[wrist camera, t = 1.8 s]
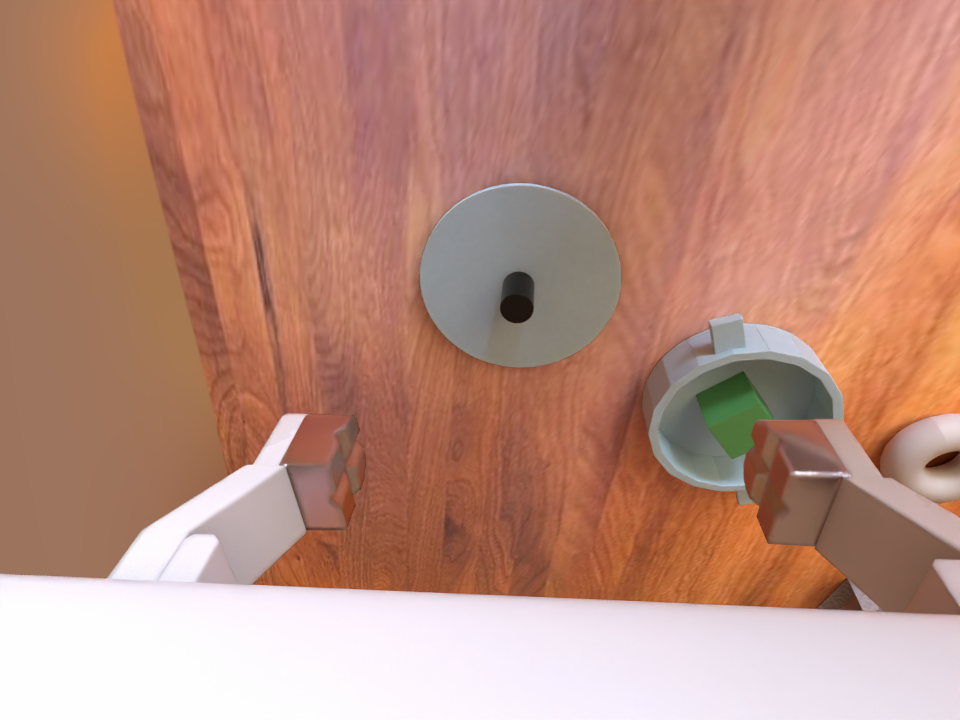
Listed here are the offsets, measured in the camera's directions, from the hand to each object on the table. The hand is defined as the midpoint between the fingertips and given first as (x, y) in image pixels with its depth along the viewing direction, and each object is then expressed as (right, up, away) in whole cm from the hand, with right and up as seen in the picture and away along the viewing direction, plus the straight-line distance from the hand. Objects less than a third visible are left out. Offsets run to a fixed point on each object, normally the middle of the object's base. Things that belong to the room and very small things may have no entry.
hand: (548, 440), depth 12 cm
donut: (+41, -6, +42) cm, 59 cm away
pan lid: (+2, +8, +36) cm, 37 cm away
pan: (+22, -2, +41) cm, 46 cm away
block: (+22, -2, +41) cm, 46 cm away
